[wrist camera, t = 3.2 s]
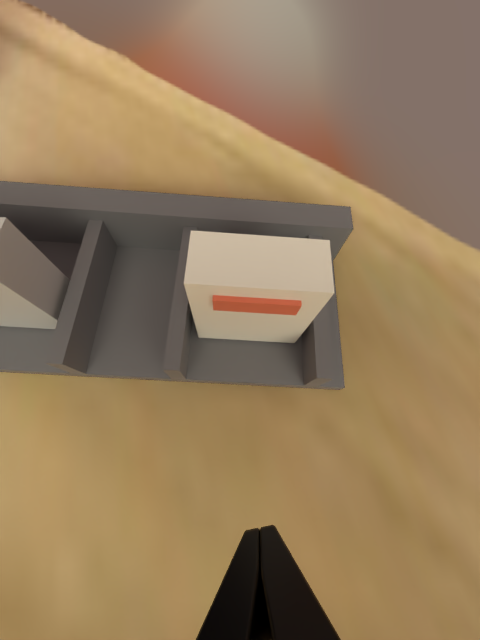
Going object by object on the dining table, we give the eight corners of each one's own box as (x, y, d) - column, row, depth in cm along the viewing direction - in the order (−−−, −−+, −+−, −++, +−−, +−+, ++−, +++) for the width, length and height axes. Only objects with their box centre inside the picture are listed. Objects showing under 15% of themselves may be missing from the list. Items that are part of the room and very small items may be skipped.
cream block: (294, 347, 20) (334, 298, 13) (198, 341, 20) (182, 289, 13) (293, 305, 22) (329, 240, 14) (202, 300, 21) (190, 230, 14)
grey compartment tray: (339, 389, 21) (372, 377, 16) (-83, 367, 20) (-178, 347, 15) (326, 243, 25) (349, 201, 21) (-13, 220, 25) (-69, 170, 20)
